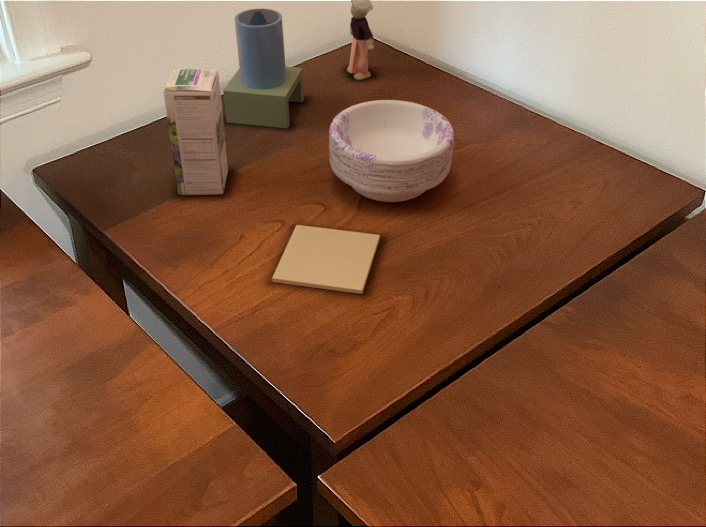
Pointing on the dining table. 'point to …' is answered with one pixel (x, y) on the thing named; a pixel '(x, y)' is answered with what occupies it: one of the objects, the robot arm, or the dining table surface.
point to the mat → (327, 259)
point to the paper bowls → (390, 149)
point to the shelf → (263, 101)
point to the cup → (260, 48)
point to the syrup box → (196, 131)
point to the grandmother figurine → (360, 39)
